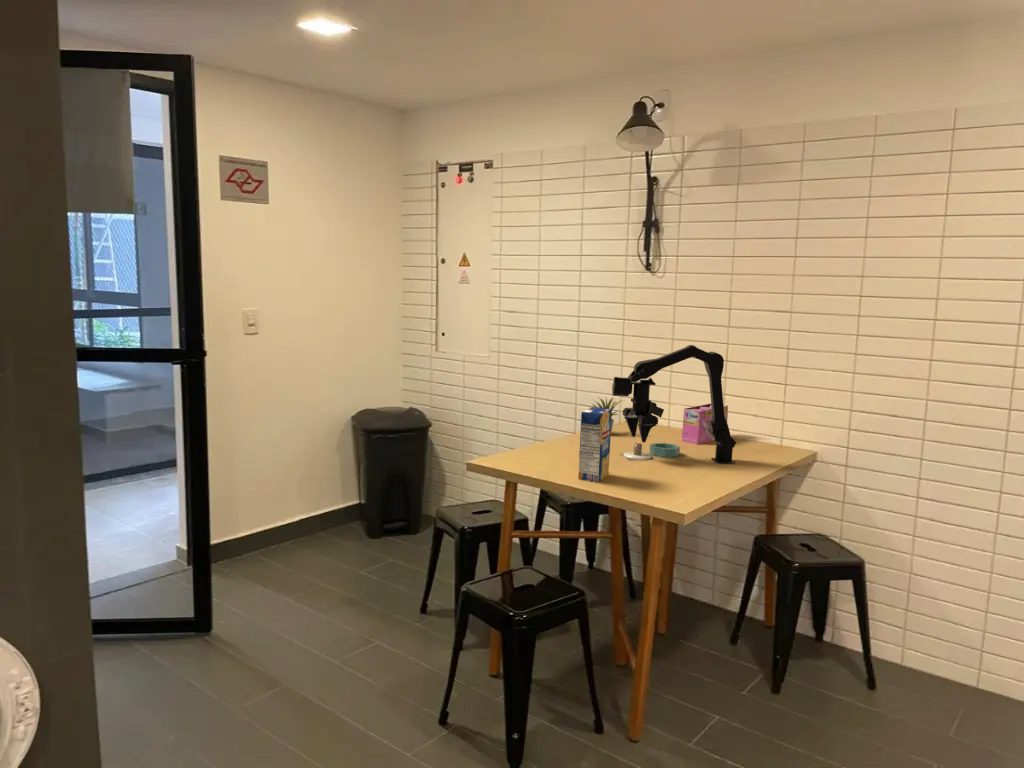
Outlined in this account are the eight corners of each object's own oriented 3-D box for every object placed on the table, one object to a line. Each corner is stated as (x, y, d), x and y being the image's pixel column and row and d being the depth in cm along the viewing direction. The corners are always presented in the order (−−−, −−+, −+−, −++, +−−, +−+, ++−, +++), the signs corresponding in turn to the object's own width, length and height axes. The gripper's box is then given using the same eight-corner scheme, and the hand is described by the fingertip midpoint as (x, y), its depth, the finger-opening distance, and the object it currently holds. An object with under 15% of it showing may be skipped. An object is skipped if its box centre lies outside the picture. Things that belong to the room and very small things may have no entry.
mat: (655, 461, 272) (655, 459, 272) (629, 461, 270) (629, 460, 270) (644, 454, 282) (644, 453, 282) (619, 455, 280) (619, 453, 279)
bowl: (682, 458, 278) (683, 448, 278) (657, 459, 276) (658, 449, 275) (670, 451, 288) (671, 442, 287) (646, 452, 285) (646, 443, 285)
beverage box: (578, 479, 244) (581, 411, 241) (588, 471, 254) (592, 406, 251) (598, 482, 242) (602, 414, 238) (608, 474, 252) (612, 409, 248)
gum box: (711, 434, 325) (714, 402, 323) (728, 437, 319) (731, 405, 317) (681, 441, 308) (683, 408, 306) (698, 444, 302) (700, 411, 300)
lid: (655, 459, 272) (656, 446, 272) (629, 460, 270) (630, 447, 269) (644, 453, 282) (645, 440, 281) (619, 453, 280) (620, 441, 279)
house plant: (620, 431, 324) (623, 393, 321) (627, 438, 310) (630, 398, 308) (587, 430, 323) (589, 392, 320) (593, 437, 309) (595, 397, 307)
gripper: (673, 401, 266) (670, 444, 268) (651, 392, 284) (648, 433, 286) (643, 401, 263) (641, 445, 265) (623, 392, 281) (620, 434, 283)
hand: (638, 439), depth 275 cm, fingers open, 9 cm apart
